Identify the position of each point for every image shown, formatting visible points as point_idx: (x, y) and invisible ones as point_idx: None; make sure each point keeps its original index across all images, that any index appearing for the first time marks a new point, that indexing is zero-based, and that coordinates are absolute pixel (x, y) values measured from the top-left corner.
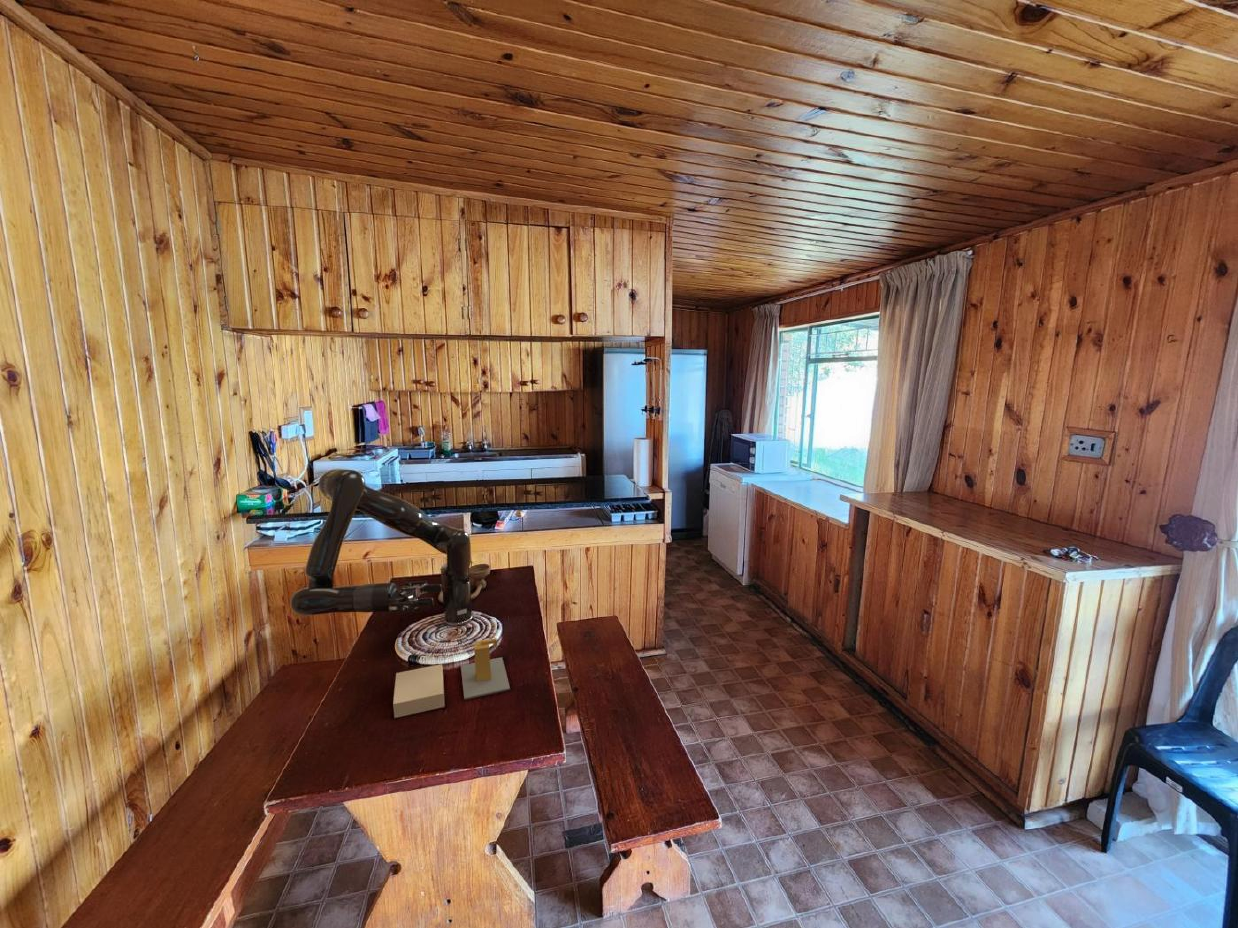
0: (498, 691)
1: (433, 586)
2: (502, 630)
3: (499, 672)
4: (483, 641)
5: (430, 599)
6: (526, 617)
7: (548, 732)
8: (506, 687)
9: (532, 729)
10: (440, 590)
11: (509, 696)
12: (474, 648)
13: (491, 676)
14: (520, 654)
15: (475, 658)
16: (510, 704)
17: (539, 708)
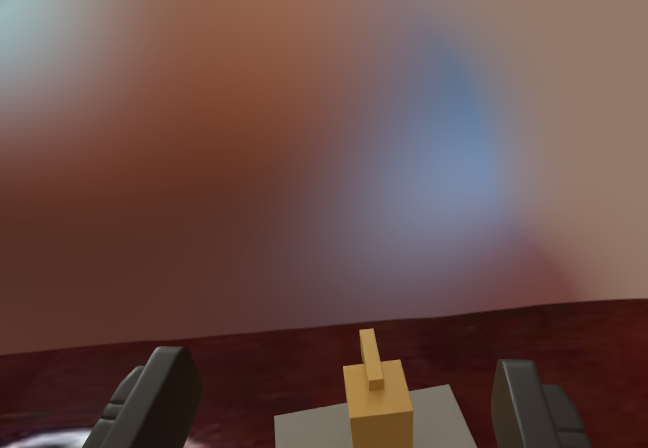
0: (462, 416)
1: (156, 416)
2: (90, 430)
3: None
4: (379, 369)
5: (533, 375)
6: (59, 362)
7: (608, 305)
8: (446, 393)
9: (608, 333)
10: (199, 384)
11: (480, 388)
12: (407, 410)
13: None
14: (269, 370)
15: (412, 434)
16: None
17: (524, 322)
